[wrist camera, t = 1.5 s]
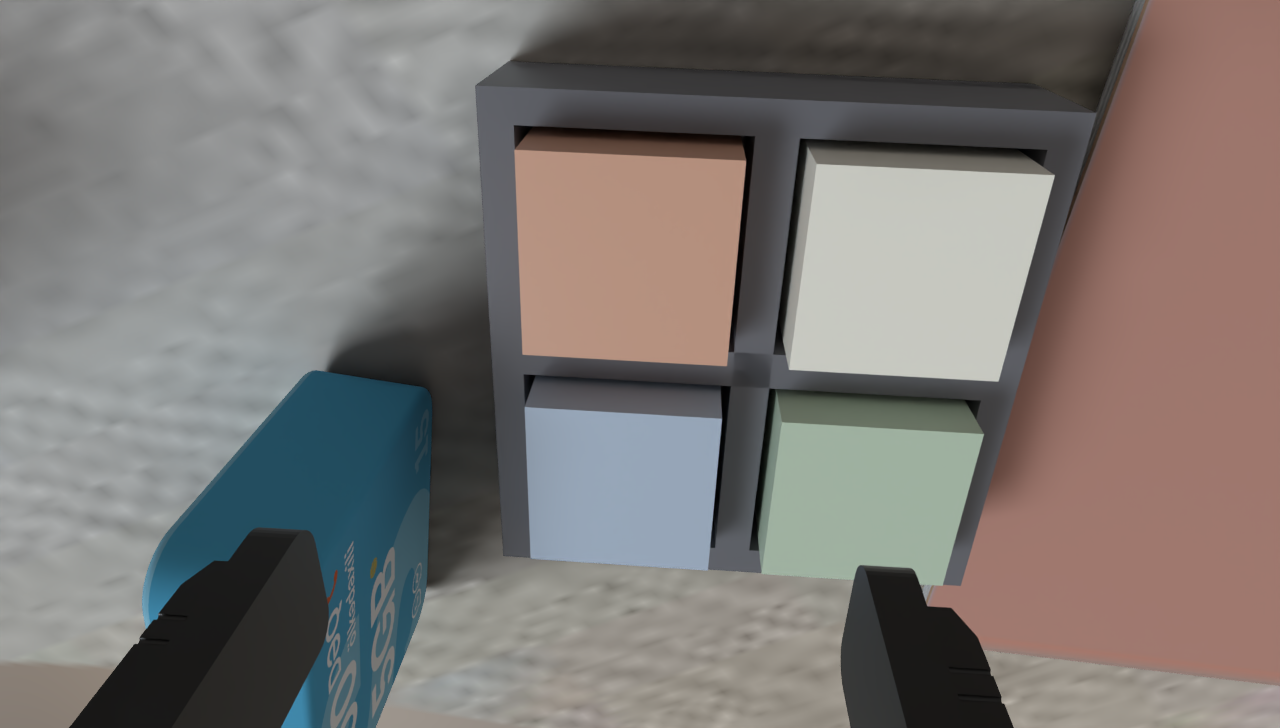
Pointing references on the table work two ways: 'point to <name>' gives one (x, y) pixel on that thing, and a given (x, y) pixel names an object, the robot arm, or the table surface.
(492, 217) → the keypad
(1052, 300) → the notebook
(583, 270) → the terracotta key
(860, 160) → the cream key
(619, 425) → the dusty blue key
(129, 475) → the table surface
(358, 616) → the data package
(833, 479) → the sage key
